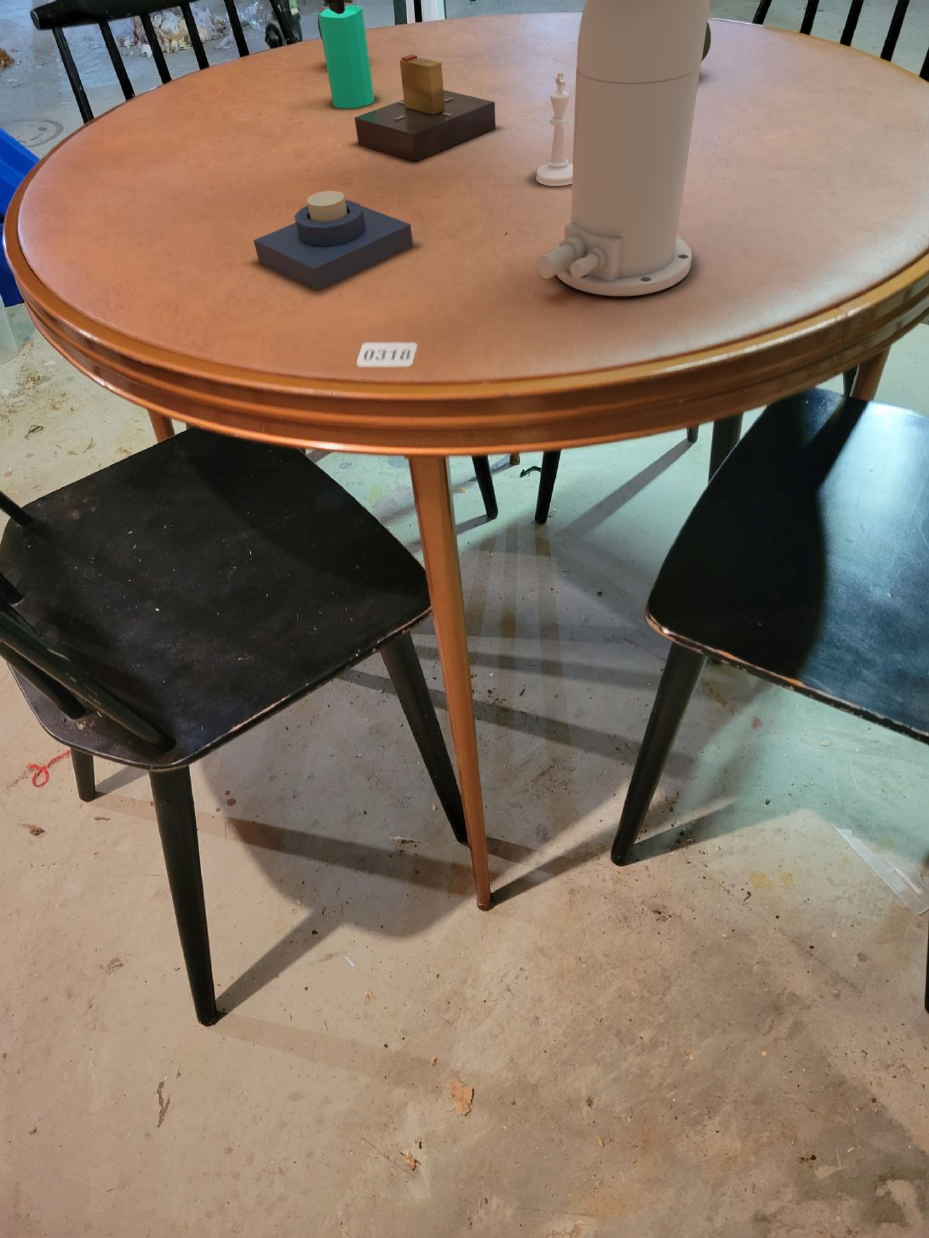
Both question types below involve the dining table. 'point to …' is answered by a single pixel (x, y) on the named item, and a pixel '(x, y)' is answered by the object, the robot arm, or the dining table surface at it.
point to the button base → (333, 245)
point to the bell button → (327, 206)
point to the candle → (347, 57)
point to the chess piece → (557, 142)
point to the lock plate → (425, 126)
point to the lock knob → (422, 84)
